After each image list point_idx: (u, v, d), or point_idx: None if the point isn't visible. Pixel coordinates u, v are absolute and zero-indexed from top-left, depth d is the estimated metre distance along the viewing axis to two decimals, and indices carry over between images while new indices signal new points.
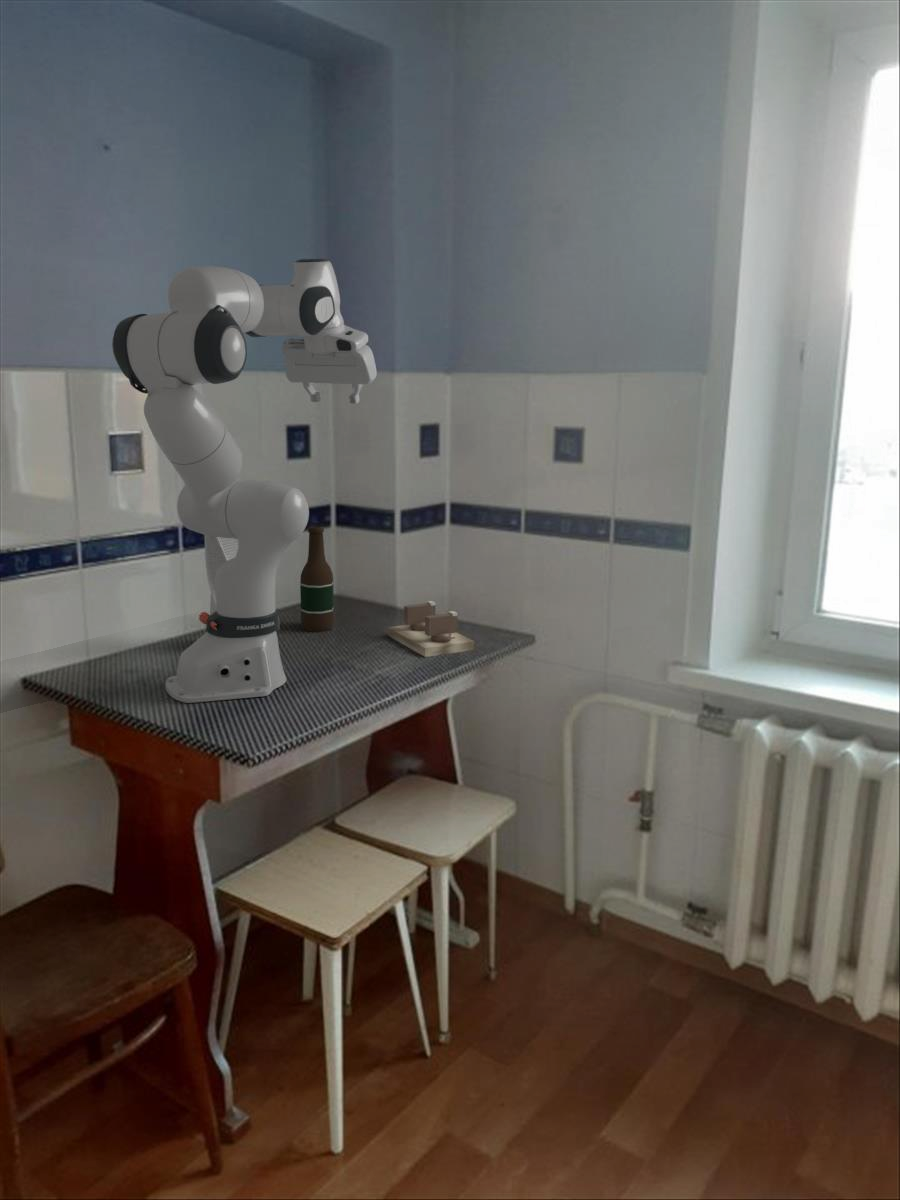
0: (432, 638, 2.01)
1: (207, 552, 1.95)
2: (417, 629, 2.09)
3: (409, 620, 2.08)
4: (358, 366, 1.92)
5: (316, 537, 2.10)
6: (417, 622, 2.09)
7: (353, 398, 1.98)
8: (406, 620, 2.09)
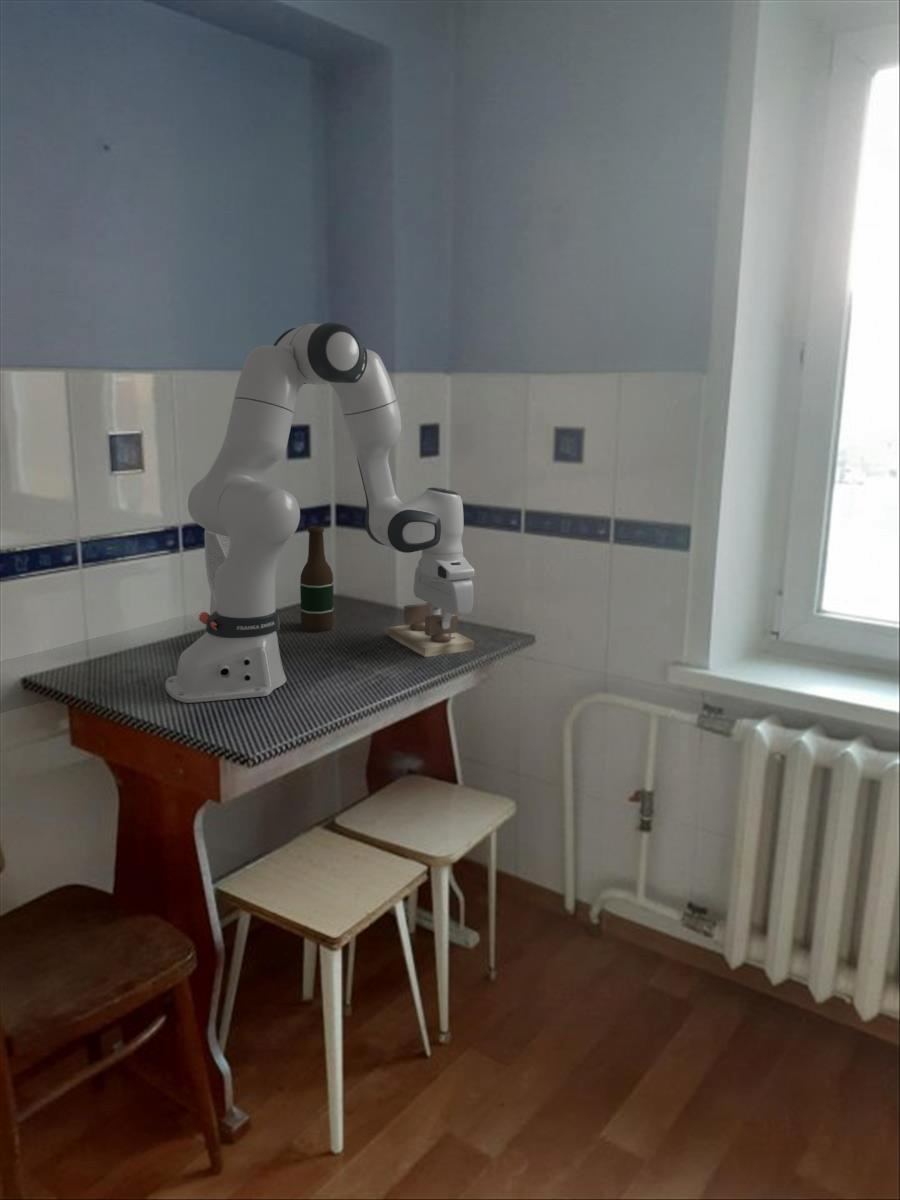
0: (432, 638, 2.01)
1: (207, 552, 1.95)
2: (417, 629, 2.09)
3: (409, 620, 2.08)
4: (452, 596, 1.92)
5: (316, 537, 2.10)
6: (417, 622, 2.09)
7: (441, 623, 2.00)
8: (406, 620, 2.09)
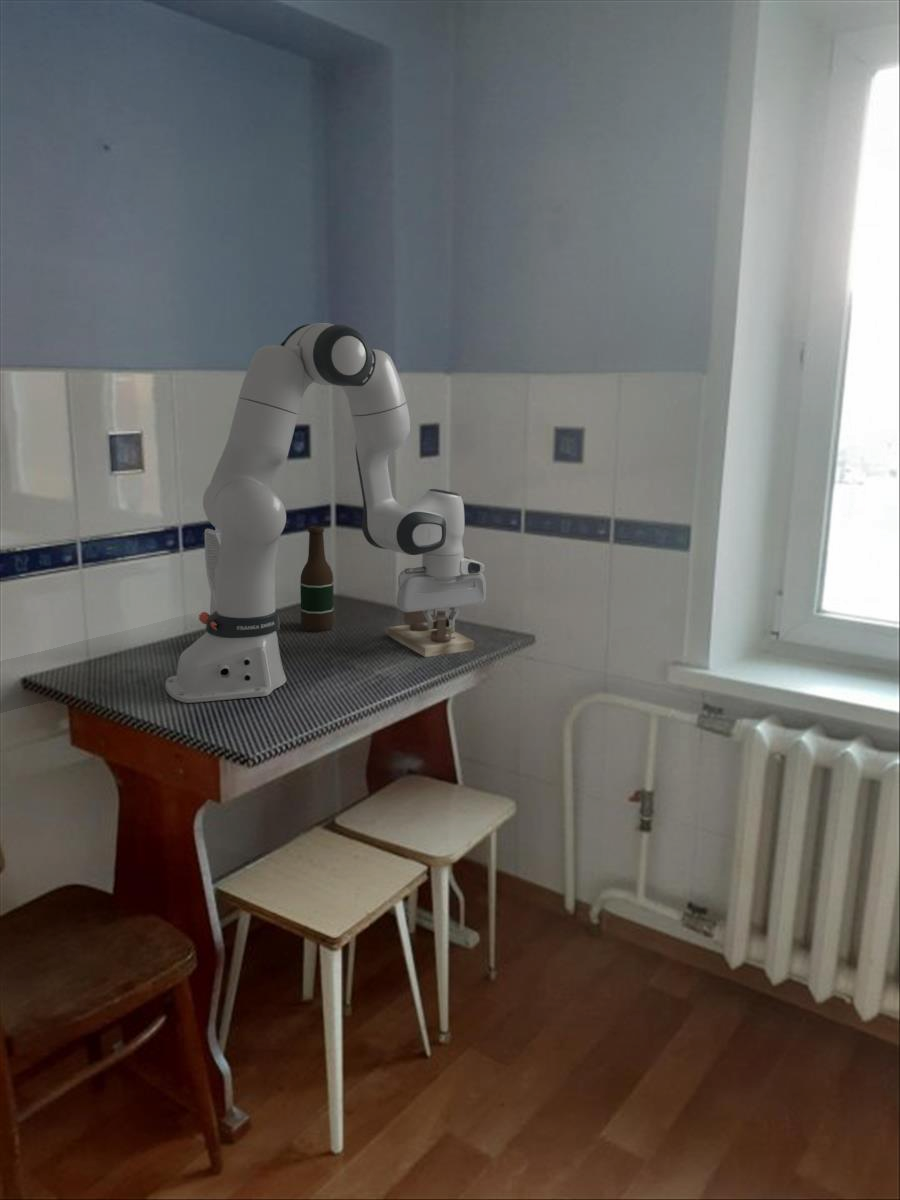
0: (441, 639, 2.00)
1: (207, 552, 1.95)
2: (417, 629, 2.09)
3: (409, 620, 2.08)
4: (477, 587, 2.02)
5: (316, 537, 2.10)
6: (417, 622, 2.09)
7: (452, 621, 2.02)
8: (406, 620, 2.09)
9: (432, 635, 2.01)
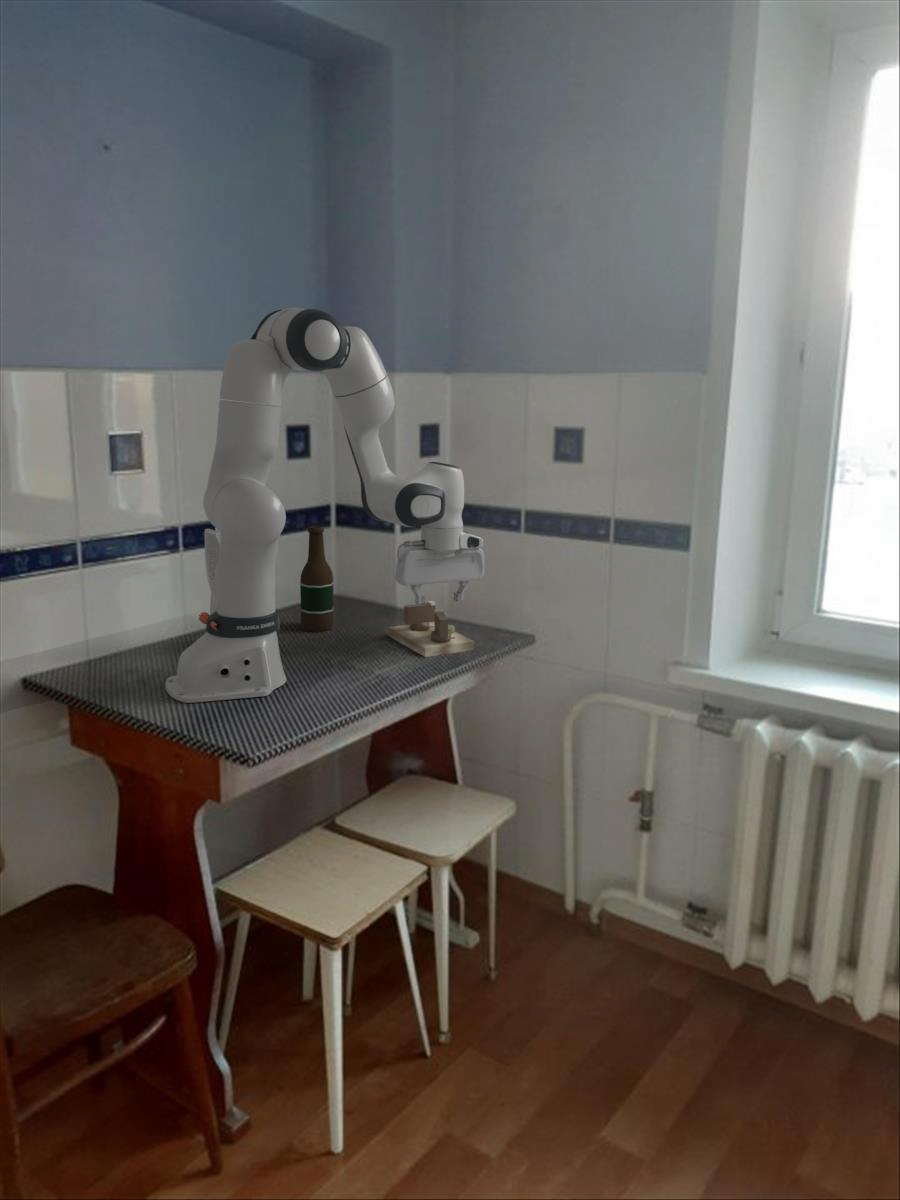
0: (443, 639, 2.00)
1: (207, 552, 1.95)
2: (417, 629, 2.09)
3: (409, 620, 2.08)
4: (476, 562, 2.01)
5: (316, 537, 2.10)
6: (417, 622, 2.09)
7: (461, 595, 2.02)
8: (406, 620, 2.09)
9: (433, 635, 2.01)
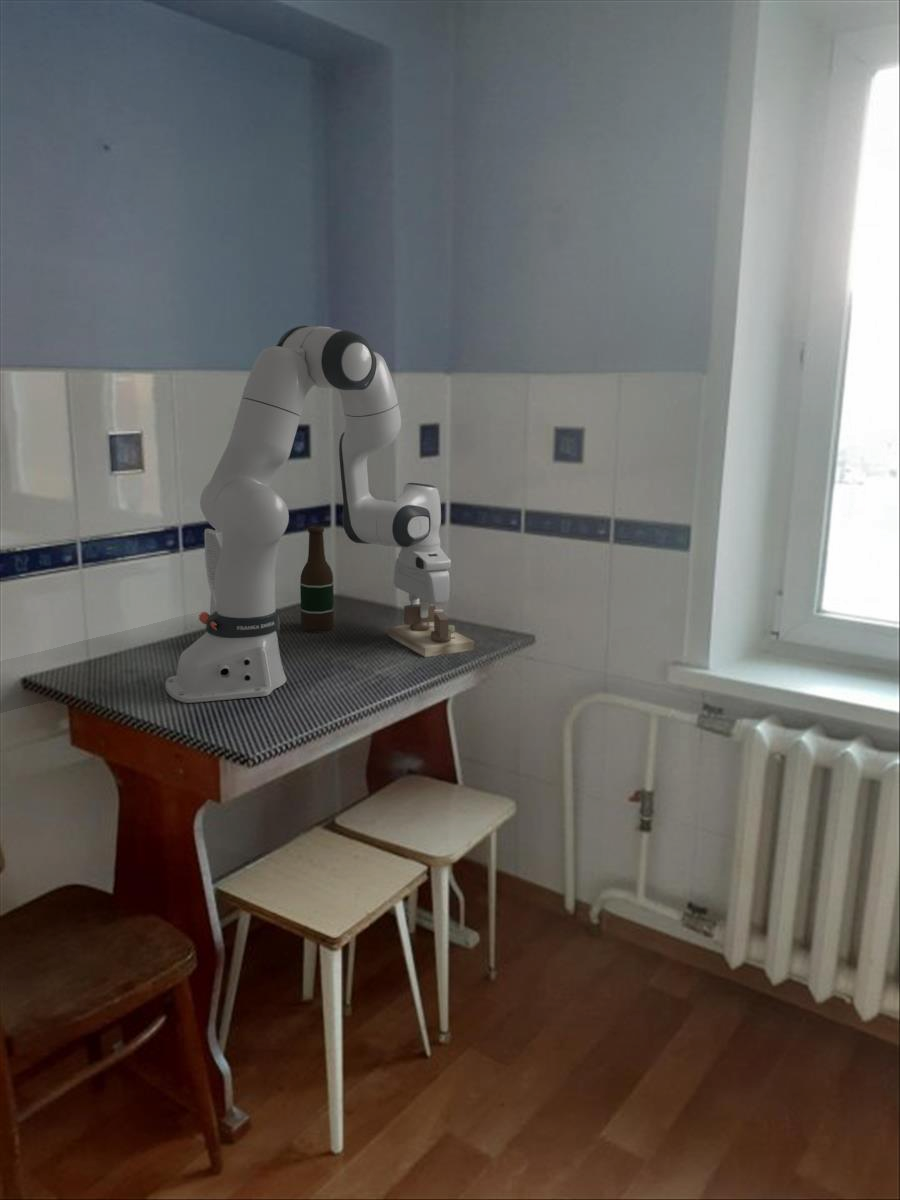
0: (443, 639, 2.00)
1: (207, 552, 1.95)
2: (417, 629, 2.09)
3: (409, 620, 2.08)
4: (429, 586, 2.01)
5: (316, 537, 2.10)
6: (417, 622, 2.09)
7: (420, 612, 2.08)
8: (406, 620, 2.09)
9: (433, 635, 2.01)
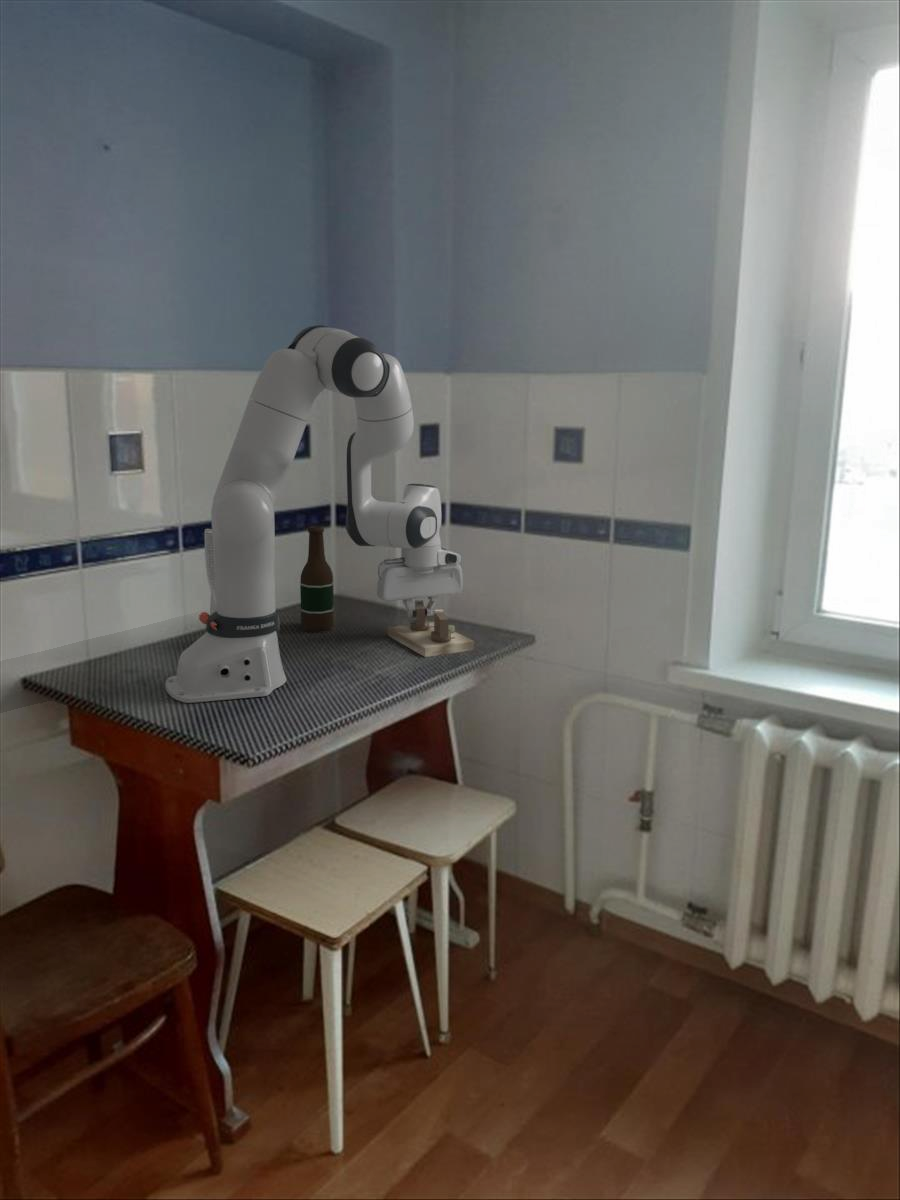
0: (443, 639, 2.00)
1: (207, 552, 1.95)
2: (427, 628, 2.10)
3: (424, 622, 2.07)
4: (455, 577, 2.10)
5: (316, 537, 2.10)
6: None
7: (430, 610, 2.10)
8: (421, 622, 2.07)
9: (433, 635, 2.01)
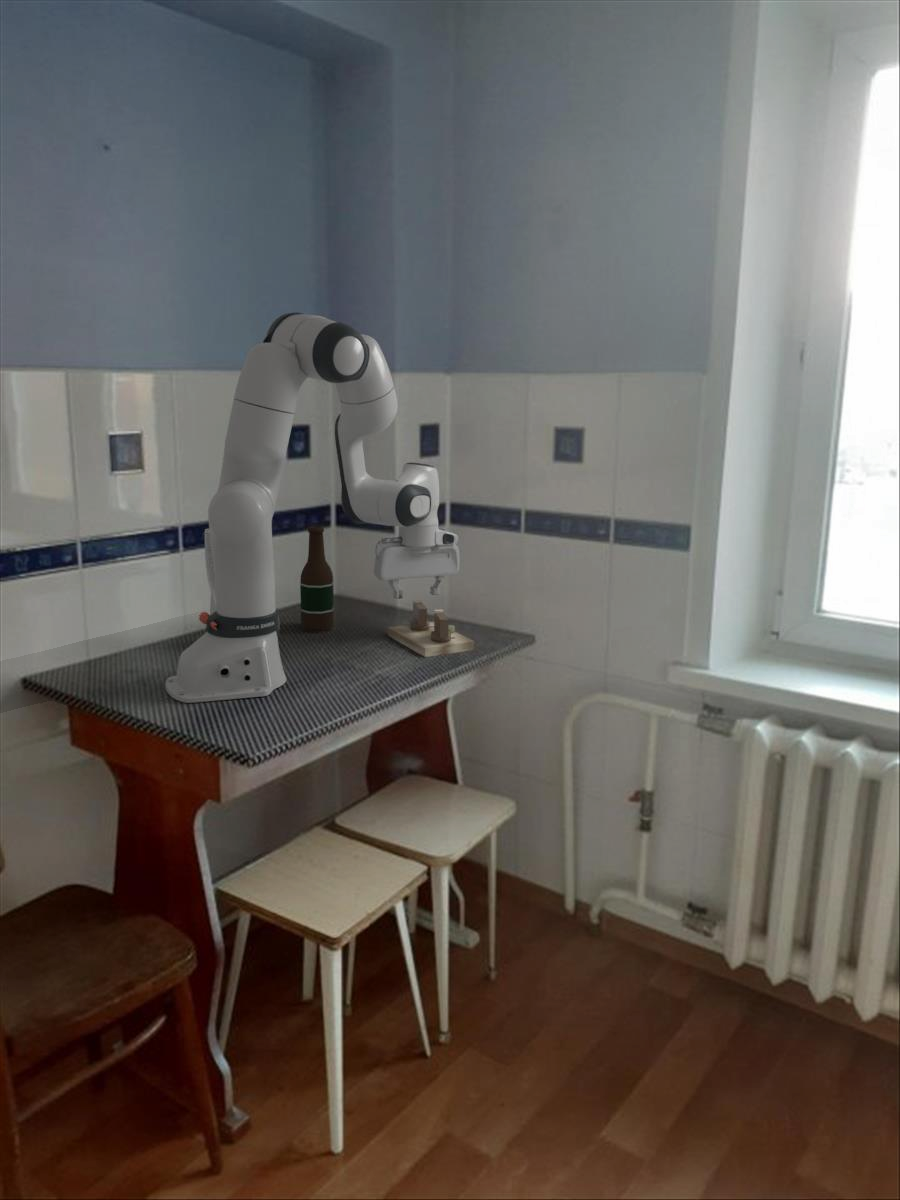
0: (443, 639, 2.00)
1: (207, 552, 1.95)
2: (428, 628, 2.10)
3: (426, 621, 2.08)
4: (451, 558, 2.10)
5: (316, 537, 2.10)
6: None
7: (437, 589, 2.11)
8: (423, 622, 2.07)
9: (433, 635, 2.01)
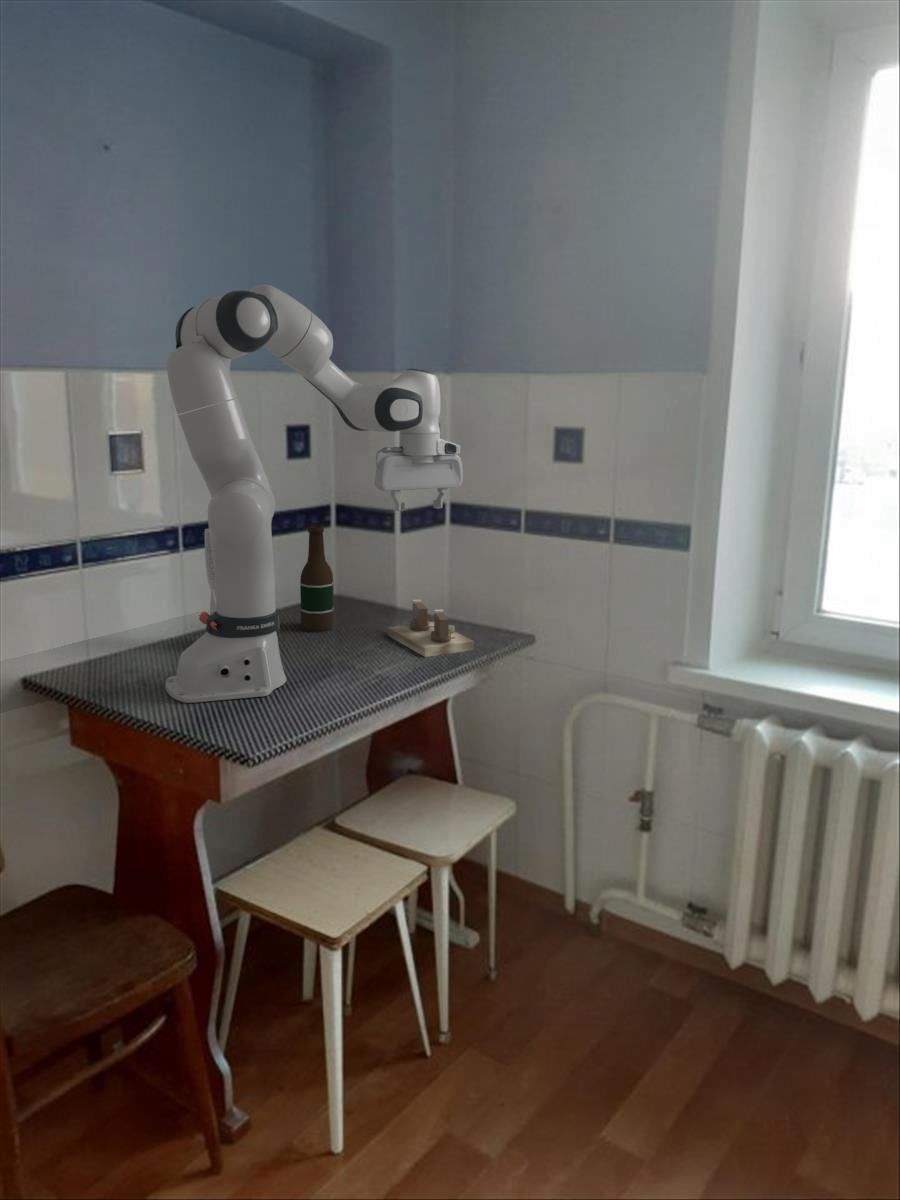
0: (443, 639, 2.00)
1: (207, 552, 1.95)
2: (428, 628, 2.10)
3: (426, 621, 2.08)
4: (454, 469, 2.05)
5: (316, 537, 2.10)
6: None
7: (440, 503, 2.07)
8: (423, 622, 2.07)
9: (433, 635, 2.01)
